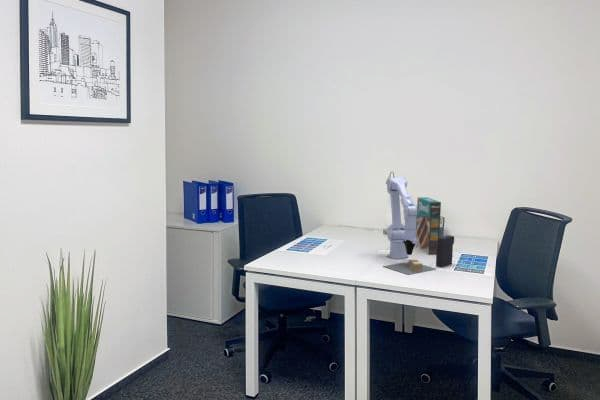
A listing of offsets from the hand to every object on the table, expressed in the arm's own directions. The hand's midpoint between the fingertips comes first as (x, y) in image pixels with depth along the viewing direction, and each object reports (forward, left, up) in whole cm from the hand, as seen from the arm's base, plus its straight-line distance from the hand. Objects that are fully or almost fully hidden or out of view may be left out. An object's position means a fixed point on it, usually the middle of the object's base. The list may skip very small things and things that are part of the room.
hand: (409, 254), depth 269 cm
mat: (+3, +4, -6) cm, 8 cm away
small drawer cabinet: (-17, +9, -6) cm, 20 cm away
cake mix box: (-35, -20, -6) cm, 41 cm away
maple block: (+2, +5, -4) cm, 6 cm away
